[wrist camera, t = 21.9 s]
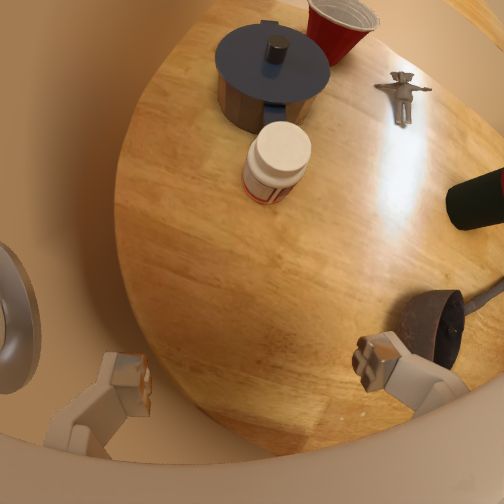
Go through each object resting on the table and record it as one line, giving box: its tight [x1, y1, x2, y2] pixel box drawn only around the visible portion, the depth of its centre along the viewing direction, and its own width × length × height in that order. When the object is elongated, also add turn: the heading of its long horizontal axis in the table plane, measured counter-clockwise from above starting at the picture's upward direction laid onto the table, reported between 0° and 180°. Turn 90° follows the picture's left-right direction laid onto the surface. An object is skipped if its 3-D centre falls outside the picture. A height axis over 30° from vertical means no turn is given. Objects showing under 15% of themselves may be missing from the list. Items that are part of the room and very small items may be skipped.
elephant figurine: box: [375, 72, 432, 124], centre depth 37 cm, size 10×6×9 cm
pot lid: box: [215, 24, 330, 105], centre depth 27 cm, size 14×14×4 cm
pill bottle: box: [242, 121, 312, 204], centre depth 30 cm, size 6×6×11 cm
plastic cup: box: [306, 0, 380, 66], centre depth 33 cm, size 11×11×12 cm
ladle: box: [396, 279, 504, 370], centre depth 37 cm, size 12×38×10 cm, turn 102°
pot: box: [218, 20, 316, 134], centre depth 33 cm, size 13×18×8 cm
